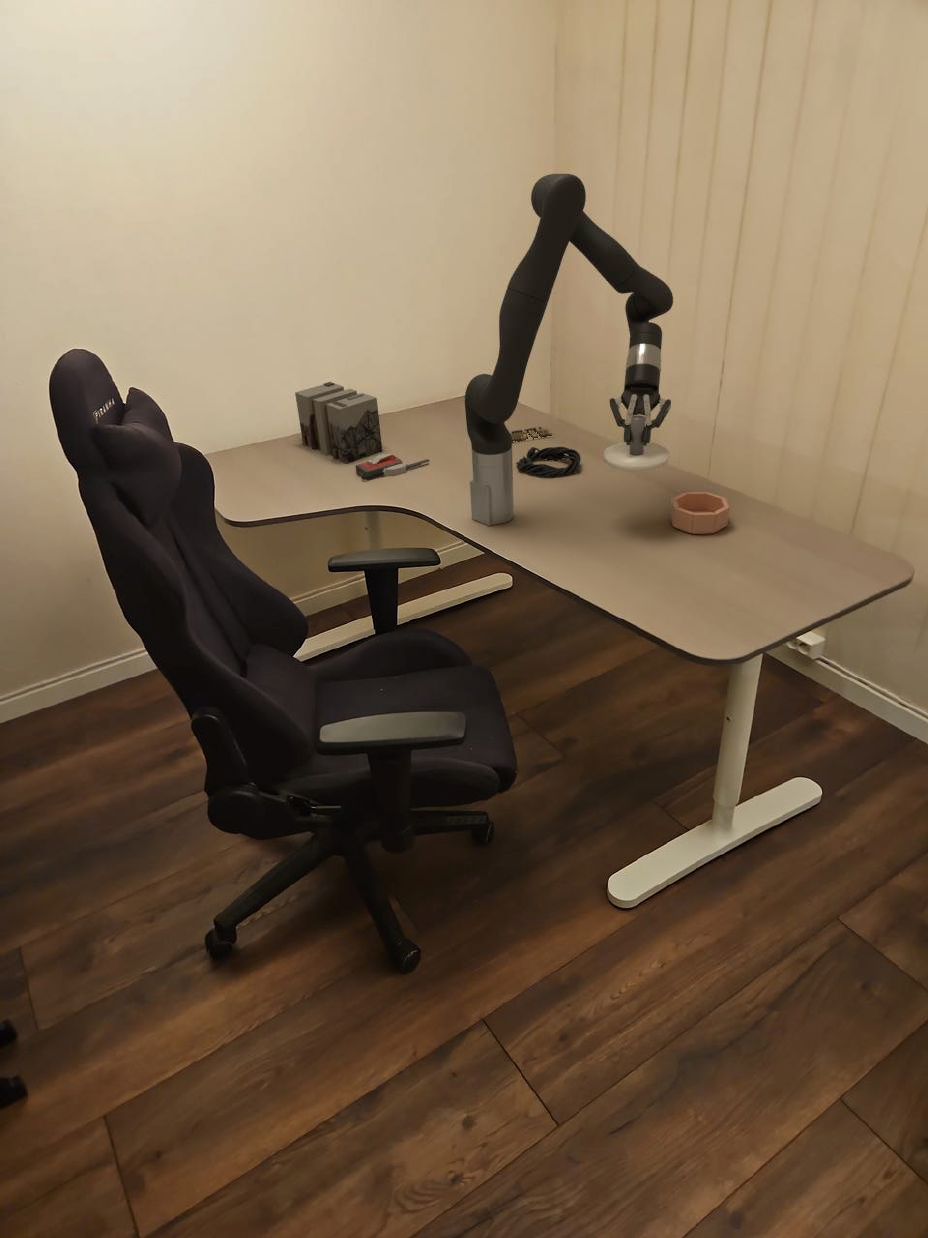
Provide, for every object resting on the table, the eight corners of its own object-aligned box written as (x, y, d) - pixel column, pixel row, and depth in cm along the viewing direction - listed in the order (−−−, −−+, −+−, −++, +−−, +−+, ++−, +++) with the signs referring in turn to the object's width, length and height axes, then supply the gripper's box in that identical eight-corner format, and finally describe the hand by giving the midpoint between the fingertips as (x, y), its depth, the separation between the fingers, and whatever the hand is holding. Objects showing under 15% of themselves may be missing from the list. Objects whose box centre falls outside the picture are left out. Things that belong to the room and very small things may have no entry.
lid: (641, 476, 186) (643, 434, 181) (590, 459, 195) (591, 419, 190) (681, 456, 193) (685, 415, 188) (631, 441, 203) (633, 402, 198)
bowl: (704, 540, 194) (706, 519, 191) (660, 523, 202) (661, 503, 199) (736, 522, 200) (738, 502, 198) (692, 507, 208) (694, 487, 206)
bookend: (339, 431, 266) (332, 378, 257) (389, 451, 250) (383, 395, 241) (294, 446, 257) (285, 391, 249) (343, 468, 241) (335, 410, 232)
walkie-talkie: (367, 485, 230) (431, 466, 240) (365, 470, 228) (430, 450, 237) (351, 475, 237) (414, 457, 246) (349, 460, 234) (413, 441, 243)
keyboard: (483, 450, 248) (482, 443, 247) (474, 439, 255) (473, 433, 254) (556, 439, 252) (556, 432, 251) (545, 428, 260) (545, 422, 259)
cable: (591, 467, 233) (591, 451, 231) (561, 485, 224) (561, 469, 222) (537, 454, 243) (537, 439, 240) (507, 471, 234) (506, 455, 231)
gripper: (609, 361, 192) (602, 435, 188) (676, 362, 188) (670, 437, 185) (611, 378, 199) (604, 449, 195) (675, 379, 196) (669, 451, 192)
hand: (636, 443), depth 190 cm, fingers closed on lid, 3 cm apart
